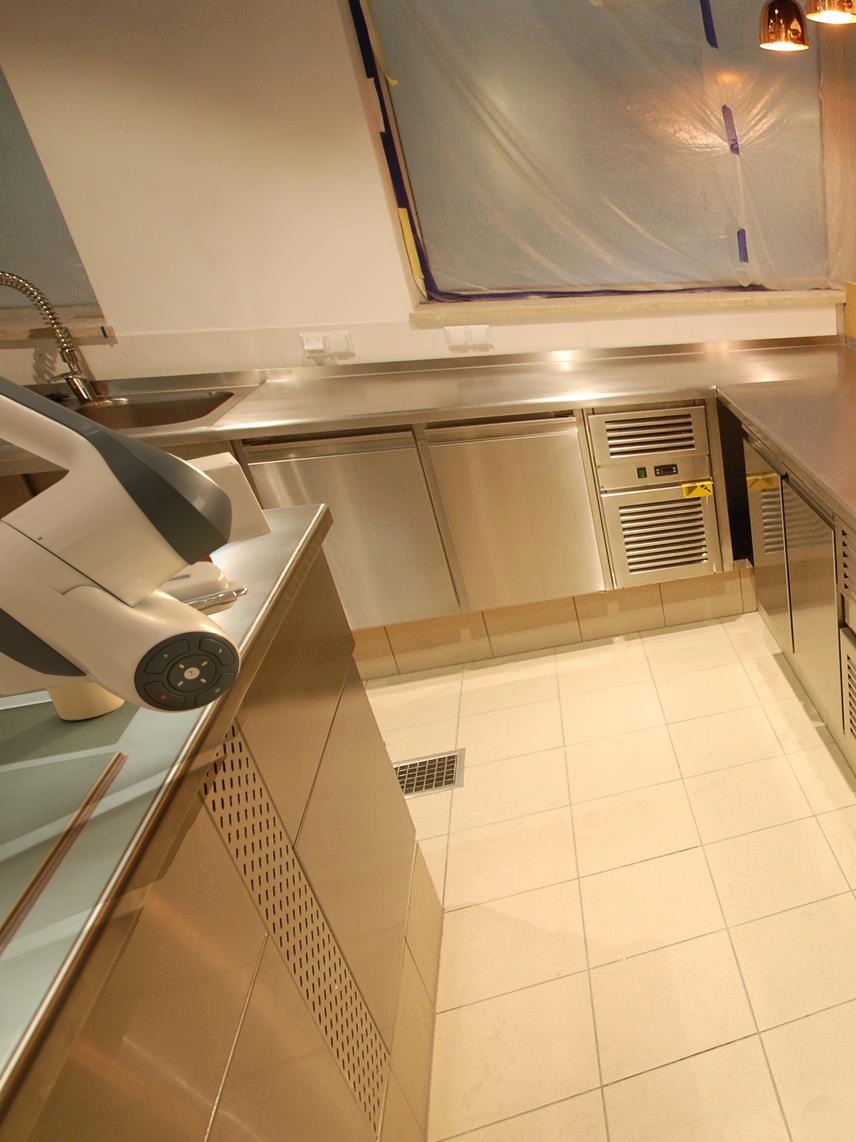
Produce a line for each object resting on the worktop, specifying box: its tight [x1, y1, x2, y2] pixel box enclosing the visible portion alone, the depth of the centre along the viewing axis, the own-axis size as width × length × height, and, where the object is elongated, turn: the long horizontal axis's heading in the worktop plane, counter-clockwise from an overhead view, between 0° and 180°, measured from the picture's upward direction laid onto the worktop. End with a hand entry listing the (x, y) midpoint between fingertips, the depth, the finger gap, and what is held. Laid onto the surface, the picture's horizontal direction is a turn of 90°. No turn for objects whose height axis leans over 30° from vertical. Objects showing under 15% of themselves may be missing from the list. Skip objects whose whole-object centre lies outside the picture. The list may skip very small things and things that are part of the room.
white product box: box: [186, 451, 273, 544], centre depth 137 cm, size 9×9×15 cm
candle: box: [45, 683, 126, 721], centre depth 93 cm, size 5×5×9 cm
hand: (67, 594), depth 82 cm, fingers open, 8 cm apart
